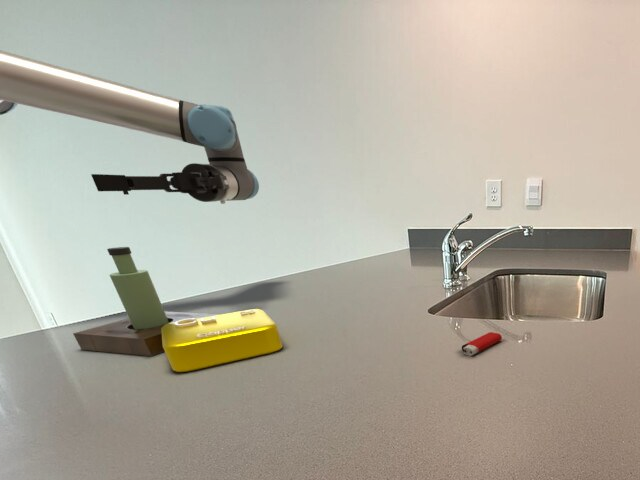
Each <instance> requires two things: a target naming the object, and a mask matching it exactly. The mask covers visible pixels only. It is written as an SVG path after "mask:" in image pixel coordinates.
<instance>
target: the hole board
mask: <svg viewBox="0 0 640 480" xmlns="http://www.w3.org/2000/svg"><path fill="white" fill-rule="evenodd" d="M164 312H165V314H166V317H167V319H168V321H169V323H173V322H176V321H179V320H183V319H190V318H195V319H197V318H203V317H209V316H215V315H220V314H219V313H216V314H215V313H201V312H200V313H196V312H181V311H180V312H179V311H167V310H166V311H165V310H164ZM164 325H165V324H164ZM164 325H161V326H156V327H152V328H145V329H134V328H133V326H132V324H131V321H130V319H129V317H128V318H124V319H121V320H117V321H114V322H113V321H112V322H110V323H106V324H103V325H99V326H95V327H91V328H89V329H88V328H87V329H84V330H80V331H77V332H74V333H73V332H72V335H73V337H74V338H75V340H76V342H77V344H78V346H79V348H80V350H82V351H91V352H99V353H100V352H101V353H113V354H124V355H134V356H142V357H143V356H145V357H154V356H157V355H159V354H162V353H165V351H164V349H163V345H162V332H161V328H162V327H163V326H164Z"/></svg>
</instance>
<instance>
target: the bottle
mask: <svg viewBox="0 0 640 480" xmlns="http://www.w3.org/2000/svg"><path fill="white" fill-rule="evenodd" d="M106 250H107V252H108V255H109V256H111V258H112V260H113V262H114V264H115V267H116V269H117V271H118V272H112V273H110V274H109V277H110V280H111V282H112V284H113V286H114V288H115V290H116V293H117V295H118V297H119V299H120V301H121V303H122V306H123V308H124V310H125V312H126V315H127V317H128V318H129V319H130V321H131V324H132V326H133V328H134V329H145V328H152V327H156V326H161V325H164V324H168V323H169V321H168V319H167V317H166V314H165V312H164V311H165V310H164V307H163V305H162V302H161V300H160V297H159V294H158V292H157V290H156V288H155V285H154V283H153V280H152V278H151V275H150V273H149V270H147V269H138V268H137V266H136V263H135V261H134V259H133V257H132V251H131V248H130V247H129V246H118V247H110V248H109V247H108V248H106Z"/></svg>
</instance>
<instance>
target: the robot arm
mask: <svg viewBox="0 0 640 480" xmlns="http://www.w3.org/2000/svg"><path fill="white" fill-rule="evenodd" d="M18 105H22V106H27V107H31V108H35V109H39V110H44V111H48V112H52V113H57V114H61V115H65V116H70V117H74V118H77V119H82V120H83V119H84V120H86V121H92V122H96V123H101V124H105V125H108V126H113V127H118V128H122V129H125V130H130V131H134V132H139V133H144V134H149V135H153V136H155V137H161V138H166V139H170V140H174V141H179V142H183V143H187V144H190V145H194V146H199V147H203V148H204V151H205V154H206V158H207V161H208V163H195V162H193V163H188V164H186V165H185V166H184V167H183V168H182V170H181V171H180V172H179V171H178V172H171V173H160V174H159V176H158V175H156V176H155V175H153V176H152V175H137V176H135V175H125V174H101V173H91V174H90V176H91V178H92V180H93V183H94V185H95V187H96V189H97V192H122V193H123V195H124V196H125V195H128V196H129V195H130V193H129V192H132V191H164V192H166V193H180V194H188V195H189V196H190V197H191V198H193V199H194V200H196V201H199V202H203V203H213V202H220V204H221V205H226V202H227V201H230V202H231V201H246V200H250V199H253V198H255V197H256V196H257V194H258V193H259V190H260V183H259V180H258V178H257V176H256V175H255V174H254V172H252V171H251V170H250V169H248V166H247V162H246V159H245V157H244V153H243V149H242V145H241V141H240V137H239V133H238V130H237V124H236V121H235V119H234V116H233V114H232V111H231V109H229V108H228V107H224V106H221V105H213V104H198V103H194V102H190V101H186V100H181V99H180V98H176V97H173V96H168V95H165V94H162V93H157V92H153V91H149V90H145V89H143V88H139V87H136V86H131V85H128V84H124V83H120V82H117V81H113V80H109V79H106V78H102V77H99V76H96V75H91V74H89V73H85V72H80V71H77V70H73V69H70V68H66V67H62V66H59V65H55V64H52V63H47V62H44V61H41V60H36V59H33V58H30V57H25V56H22V55H18V54H15V53H11V52H7V51H4V50H0V116H1V115H5V114H8V113H10V112H12V111H14V110H15V109H16V108H17V106H18ZM168 177H170V179H169V180H168ZM171 187H172V188H171Z"/></svg>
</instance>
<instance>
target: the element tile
mask: <svg viewBox="0 0 640 480" xmlns="http://www.w3.org/2000/svg"><path fill="white" fill-rule="evenodd" d="M161 332H162V345H163V349H164V351H165V352H164V353H165V355H166V358H167V360H168V363H169V365H170V367H171V369H172V370H173V371H174V372H176V373H187V372H193V371H198V370H202V369H206V368H210V367H215V366H219V365H223V364H228V363H233V362H237V361H242V360H246V359H250V358H255V357H259V356H264V355H269V354H272V353H275V352H278V351H280V350H281V349H282V348H283V342H282V339H281V336H280V333H279V329H278V326H277V323H276V322H275V321H274V320H273V319H272V318H271V317H270V316H269V315H268V314H267V313H266V312H265V311H264V310H262V309H260V308H251V309H245V310H239V311H234V312H227V313H221V314H219V315H215V316H209V317H203V318H197V319H195V318H190V319H183V320H179V321H176V322H173V323H168V324H165V325H164V326H163V327H162V328H161Z"/></svg>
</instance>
